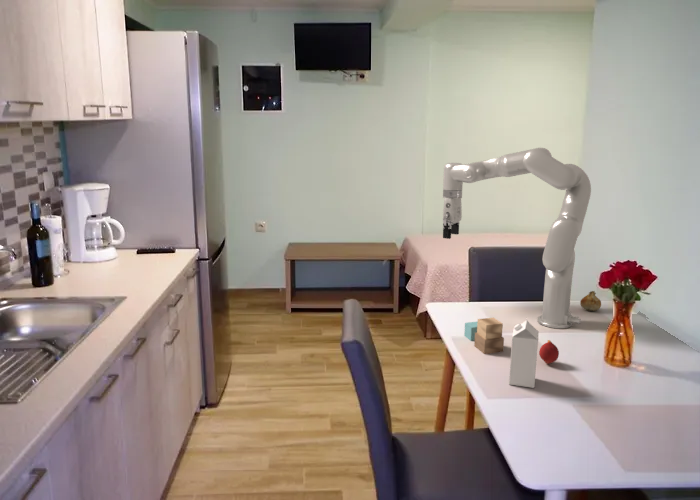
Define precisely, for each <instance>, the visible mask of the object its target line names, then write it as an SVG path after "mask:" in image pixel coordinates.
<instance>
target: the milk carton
mask: <svg viewBox="0 0 700 500" xmlns="http://www.w3.org/2000/svg"><path fill="white" fill-rule="evenodd" d="M525 319H526V320H524V321H523V322H521V323H517V324H516V325H514V326H513V330H512V337H511V350H510V363H509V379H508V385H510V386H517V387H526V388H529V389H530V388H531V389H534V388H535V385H536V384H535V383H536V370H537V358H538V346H539V330H538V329H537V328H536V327H534V326H533V325H532V324H531V323H530V322H529V321H528V317H526V318H525Z"/></svg>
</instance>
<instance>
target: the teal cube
mask: <svg viewBox="0 0 700 500" xmlns="http://www.w3.org/2000/svg"><path fill="white" fill-rule="evenodd" d="M477 323H478V321H469V322H465V323H464V334H463V336H464V337H465V338H466V339H468V340H469V341H470V342H473V341H474V342H475V333H477Z"/></svg>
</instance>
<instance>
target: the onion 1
mask: <svg viewBox="0 0 700 500" xmlns="http://www.w3.org/2000/svg"><path fill="white" fill-rule="evenodd" d="M538 354H539V357H540V359H541V360H542V361H543V362H544V363H545V364H546V365H551V364H552V363H555V362H556V361H557V360H558V358H559V355H560V352H559V348H558V347H557V346H556V344H554V343H553V342H552V341H551V340H550V339H547V342H545V343H543V344H542V345H541V346H540V348H539V351H538Z"/></svg>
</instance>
